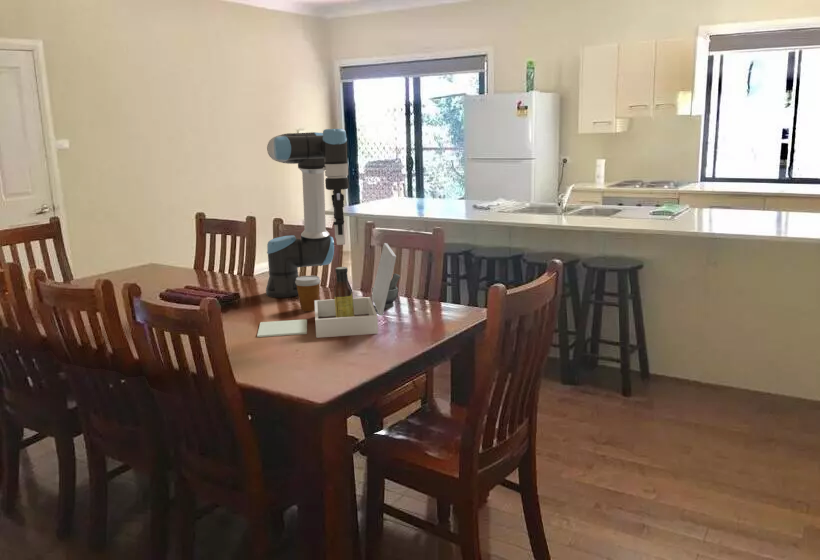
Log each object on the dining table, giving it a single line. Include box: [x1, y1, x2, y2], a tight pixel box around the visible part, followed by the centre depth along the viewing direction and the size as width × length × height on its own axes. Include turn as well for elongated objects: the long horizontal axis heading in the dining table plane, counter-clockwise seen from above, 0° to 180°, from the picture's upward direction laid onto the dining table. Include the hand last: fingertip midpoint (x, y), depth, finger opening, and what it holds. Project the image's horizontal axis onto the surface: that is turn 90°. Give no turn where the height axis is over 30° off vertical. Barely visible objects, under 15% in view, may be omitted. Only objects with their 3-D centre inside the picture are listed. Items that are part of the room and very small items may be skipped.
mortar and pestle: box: [371, 273, 401, 309], centre depth 257 cm, size 11×9×12 cm
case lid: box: [371, 242, 397, 316], centre depth 233 cm, size 26×20×1 cm
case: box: [314, 296, 379, 339], centre depth 234 cm, size 26×20×6 cm
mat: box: [256, 318, 308, 338], centre depth 232 cm, size 16×16×1 cm
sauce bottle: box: [333, 266, 355, 318], centre depth 233 cm, size 7×6×20 cm
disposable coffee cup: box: [295, 275, 321, 312], centre depth 255 cm, size 10×10×12 cm
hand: (339, 241), depth 229 cm, fingers open, 13 cm apart
